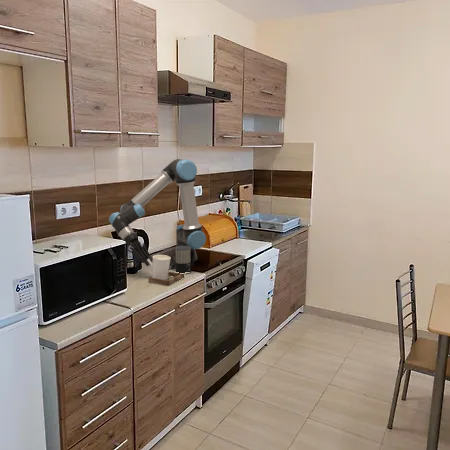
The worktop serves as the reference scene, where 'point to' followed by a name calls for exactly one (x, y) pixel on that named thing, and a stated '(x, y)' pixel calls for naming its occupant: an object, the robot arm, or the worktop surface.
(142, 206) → the robot arm
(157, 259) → the candle holder
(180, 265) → the milk frother
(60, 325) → the worktop surface
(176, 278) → the walnut bay
